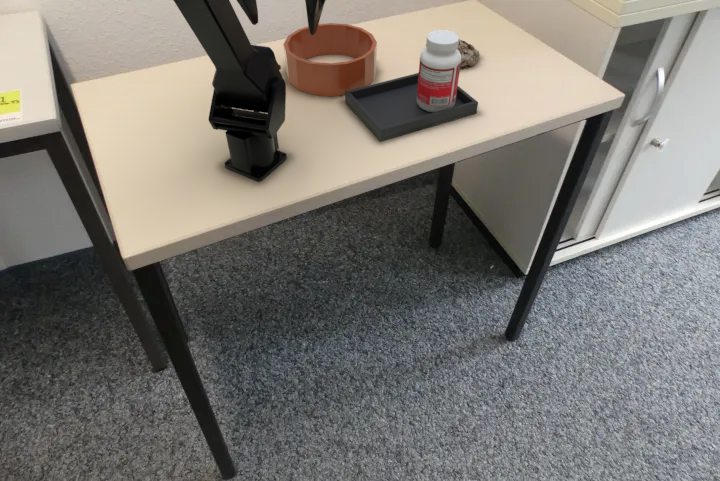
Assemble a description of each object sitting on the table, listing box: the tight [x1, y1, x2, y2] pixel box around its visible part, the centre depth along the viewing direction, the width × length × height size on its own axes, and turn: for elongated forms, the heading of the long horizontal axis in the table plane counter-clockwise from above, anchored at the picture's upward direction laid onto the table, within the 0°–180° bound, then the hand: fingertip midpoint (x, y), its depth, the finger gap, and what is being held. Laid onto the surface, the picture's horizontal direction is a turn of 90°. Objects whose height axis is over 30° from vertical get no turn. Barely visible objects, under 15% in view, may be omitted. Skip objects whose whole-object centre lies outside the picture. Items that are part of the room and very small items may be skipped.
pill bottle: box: [417, 29, 462, 113], centre depth 80 cm, size 6×6×11 cm
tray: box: [344, 72, 479, 142], centre depth 84 cm, size 17×12×2 cm
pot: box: [283, 22, 378, 97], centre depth 90 cm, size 15×15×6 cm
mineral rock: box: [457, 38, 481, 67], centre depth 96 cm, size 11×4×8 cm
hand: (284, 28), depth 75 cm, fingers open, 9 cm apart
